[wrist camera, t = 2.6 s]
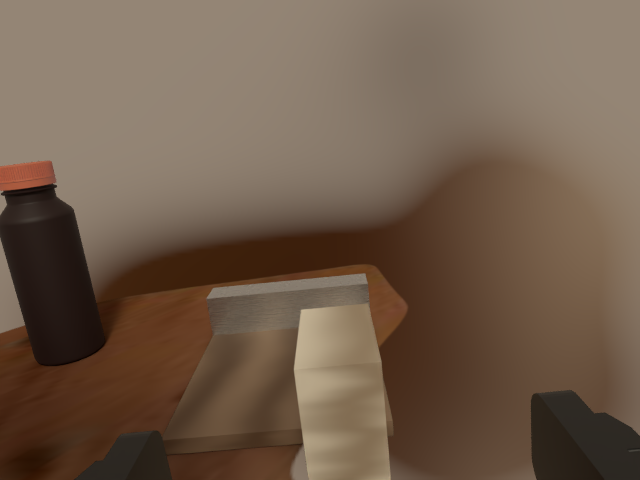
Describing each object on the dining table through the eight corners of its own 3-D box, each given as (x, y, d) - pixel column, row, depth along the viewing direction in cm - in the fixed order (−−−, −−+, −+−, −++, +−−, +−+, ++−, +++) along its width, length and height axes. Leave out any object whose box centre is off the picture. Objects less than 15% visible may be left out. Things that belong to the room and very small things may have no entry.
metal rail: (213, 335, 48) (206, 298, 47) (219, 322, 51) (213, 288, 50) (370, 320, 48) (367, 283, 47) (368, 309, 51) (365, 273, 50)
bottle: (21, 370, 48) (-37, 171, 43) (58, 339, 55) (11, 164, 49) (87, 364, 48) (36, 164, 43) (116, 333, 54) (74, 157, 49)
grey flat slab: (163, 455, 33) (160, 440, 33) (219, 337, 51) (217, 327, 50) (393, 436, 33) (392, 420, 32) (369, 323, 50) (368, 312, 50)
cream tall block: (324, 600, 22) (293, 369, 19) (324, 499, 28) (300, 309, 25) (400, 595, 22) (381, 361, 19) (384, 494, 28) (368, 303, 25)
